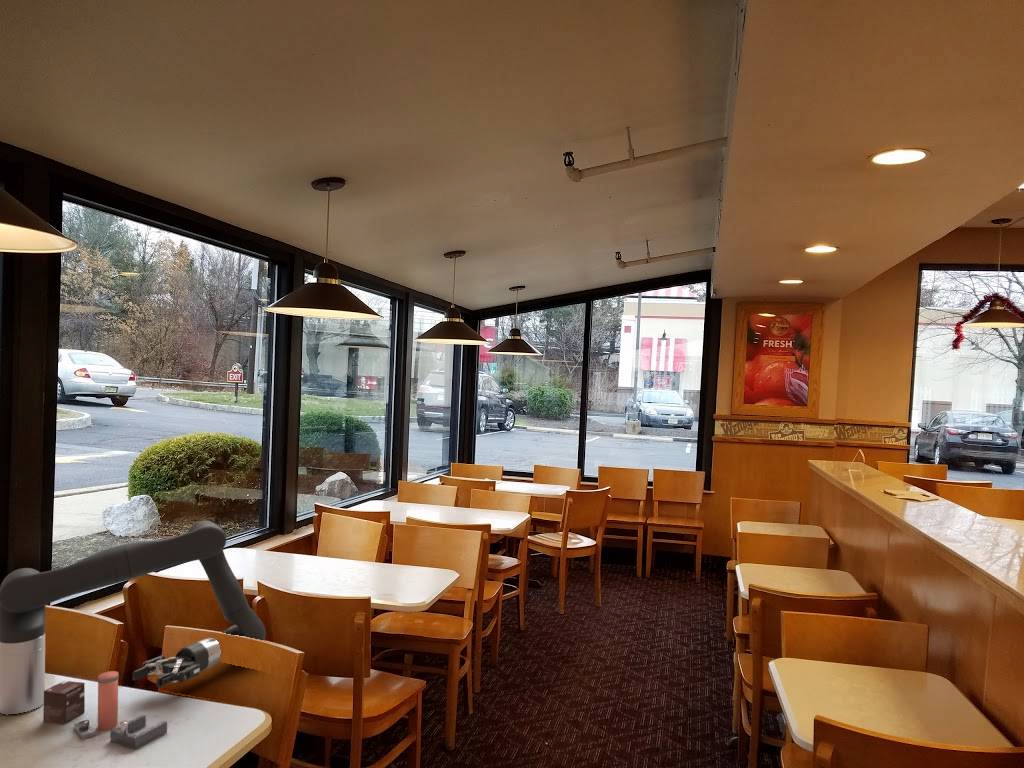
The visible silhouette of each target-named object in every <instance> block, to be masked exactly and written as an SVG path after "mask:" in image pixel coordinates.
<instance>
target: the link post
mask: <svg viewBox="0 0 1024 768" xmlns="http://www.w3.org/2000/svg"><path fill="white" fill-rule="evenodd" d="M119 677H120V676H119V672H118V671H117V670H116V671H115V670H109V671H104V672H102V673H99V675H98V676H97V730H98V731H100V732H107V731H110V730H112V729H114V728H116V727H118V726H119V725H118V724H119V715H118V714H119Z"/></svg>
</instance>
